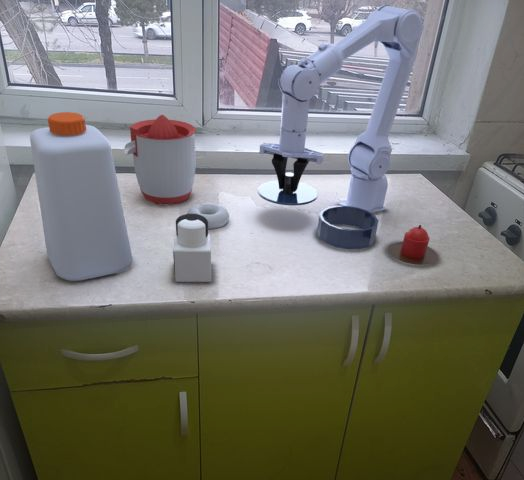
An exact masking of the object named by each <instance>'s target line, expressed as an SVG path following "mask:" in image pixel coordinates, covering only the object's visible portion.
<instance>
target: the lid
mask: <svg viewBox="0 0 524 480" xmlns="http://www.w3.org/2000/svg"><path fill="white" fill-rule="evenodd" d="M293 178H294V172H291V171H289V172H287V171H286V172H285V173H284V178H283V189H279V183H278V179H276V180H270V181H266V182H263V183H261V184H260V185H259V186H258V188H257V194H258V196H259V197H260V198H261V199H263V200H265V201H267V202H269V203H272V204H275V205H282V206H292V207H293V206H294V207H295V206H304V205H308V204H311V203H313V202H315V201H316V200H317V199H318V198H319V197H318V196H319V192H318V190H317V189H316V188H315V187H313V186H312V185H310V184H308V183H305V182H301V181H299V184H298V188H297V190H296V191H295V192H292V185H293Z"/></svg>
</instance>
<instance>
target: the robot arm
mask: <svg viewBox="0 0 524 480" xmlns="http://www.w3.org/2000/svg"><path fill="white" fill-rule="evenodd" d="M424 28H425V25H424V23H423V20H422V17H421V15H420V13H419V12H418V11H417V10H416V9H406V8H403V7H402V8H401V7H396V6H392V5H390V4H382V5H380V6H379V7H378V8H377V9H375V10H373V11H371V12H370V13H369V15H368V17H367V18H366V19H365V20H364V21H363V22H362V23H360V24H359V25H358V26H357V27H355V28H354V29H353V30H352V31H350V32H349V33H348V34H347V35H346V36H344V37H343V38H341V39H340V40H339V41H338V42H337V43H336V44H333V43H331V42H327V43H323V42H322V43H321V44H319V45H318V46H317V48H318V49H317V50H316V51H314V52H313V53H311V54H309V56H306V57H305V58H304V57H303V58H301V59H300V60H299V62H298V64H291V65H288V66H286V67H285V68H284V69H283V71H282V73H281V76H280V78H278V80H277V82H278V83H277V85H278V88H279V90H280V92H281V100H282V103H281V114H280V116H281V117H280V129H279V143H269V142H268V143H267V142H262V143H260V144H259V154H260V155H272V158H271V164H272V166H273V168H274V171H275V174H276V177H277V180H278V183H279V189H283V178H284V173H287V164H288V159H294V160H295V161H294V162H293V164H292V166H293V167H292V168H293V173H294V178H293V185H292V192H295V191H296V190H297V188H298V184H299V182H301V181H300V180H301V178H302V175H304V172H305V169H306V168H307V166H308V164H309V163H310V162H312V163H315V164H317V165H321V164H322V163H323V162H324V157H325V153H324V152H320V151H317V150H313V149H310V148H307V147H306V139H307V128H308V119H309V110H310V100H311V99H312V98H313V97H314V95H315V94H316V92H317V89H318V88H319V87H320V86H321V85H322V84H323V83H325V82H326V81H327V80H328V79H330V78H332V77H333V76H334V75H336V74H337V73H338V72H340V71H341V70H342V68H343V65H344V64H343V63H344V61H345V60H347V59H349V58H350V57H352V56H353V55H355V54H357V53H358V52H360V51H361V50H363V49H365V48H366V47H368V46H369V45H372V44H373V43H374V42H379V43H380V45H382V46H383V47H384V49H385V51H386V53H387V56H388V58H389V60H388V63H387V66H386V69H385V72H384V75H383V78H382V81H381V84H380V86H379V87H380V88H379V90H378V93H377V95H376V96H377V97H376V100H375V101H374V105H373V108H372V112H371V115H370V118H369V120H368V123H367V126H366V129H365V131H364V132H362V133H360V134H359V135H357V136H356V139H355V142H354V144H353V145H352V147H351V148H350V149H349V152H348V154H347V162H348V164H349V166H350V172H351V174H350V181H349V184H348V192H347V198H346V201H342V202H341V201H340V202H339V203H338V204H339V205H340V206H351V207H358V208H361V209H364V210H367V211H369V212H370V213H374V212H379V211H384V210H386V208H385V200H386V196H387V191H388V186H389V184H388V183H389V182H388V178H387V176H386V174H387V172H388V170H389V169H390V164H391V156H392V152H393V147H392V145H391V143H390V140H389V135H390V132H391V129H392V127H393V124H394V122H395V119H396V115H397V112H398V109H399V108H400V104H401V101H402V99H403V96H404V93H405V91H406V87H407V85H408V82H409V79H410V76H411V73H412V71H413V68H414V65H415V62H416V60H417V56H418V47H419V42H420V39H421V37H422V35H423V31H424Z"/></svg>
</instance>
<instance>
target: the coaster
mask: <svg viewBox="0 0 524 480" xmlns="http://www.w3.org/2000/svg"><path fill="white" fill-rule="evenodd" d="M402 244H403V241H400V242H396V243H392V244H389V246H388V247H387V252H388V253H389V254H390V255H391V257H393V258H394V259H396V260H398V261H400V262H402V263H406V264H410V265H415V266H416V265H417V266H426V265H431V264H433V263H435V262H436V261H437V260H438V254H437V253H436V251H435V250H434V249H432V248H431V247H430V246H427V250H426V253H425V256H424V257H422V258H410V257H407V256H405V255H403V254H402V253H401V248H402Z"/></svg>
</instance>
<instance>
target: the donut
mask: <svg viewBox="0 0 524 480" xmlns="http://www.w3.org/2000/svg"><path fill="white" fill-rule="evenodd" d="M186 214H198V215H202V216H204V217H205V218H206V219H207V220H208V230H213V229H215V230H216V229H219V228H222V227H224V226H226V224H228V222H229V219H230V212H229V211H228V210H227V208H225V207H224V206H223V205H220V204H218V203H214V202H202V203H197V204H194V205H192V206H191V207H190V208H188V210H187V213H186Z"/></svg>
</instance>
